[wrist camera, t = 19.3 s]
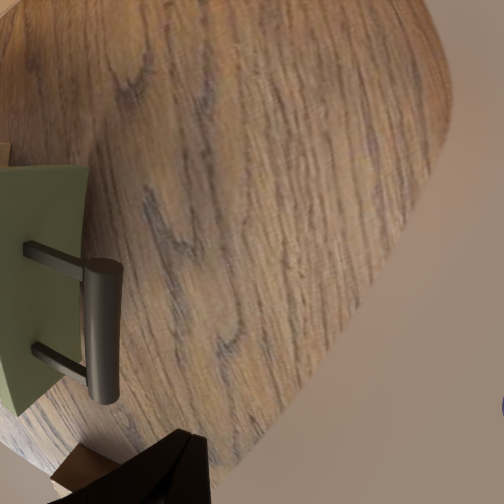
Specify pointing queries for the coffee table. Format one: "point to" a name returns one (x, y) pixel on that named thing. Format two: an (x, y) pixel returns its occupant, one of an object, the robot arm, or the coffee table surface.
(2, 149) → the cabinet
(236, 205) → the coffee table surface
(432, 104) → the coffee table surface
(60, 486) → the brown cube
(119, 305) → the drawer
